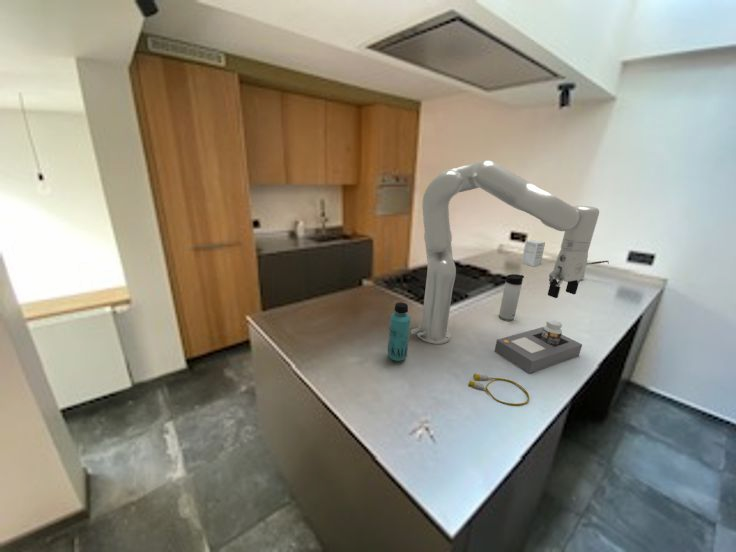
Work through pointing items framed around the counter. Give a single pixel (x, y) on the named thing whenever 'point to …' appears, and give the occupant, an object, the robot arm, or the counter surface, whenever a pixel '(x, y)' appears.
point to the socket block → (536, 350)
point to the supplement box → (533, 253)
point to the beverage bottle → (399, 332)
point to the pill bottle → (552, 332)
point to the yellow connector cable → (484, 377)
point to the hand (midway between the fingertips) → (561, 294)
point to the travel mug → (510, 297)
